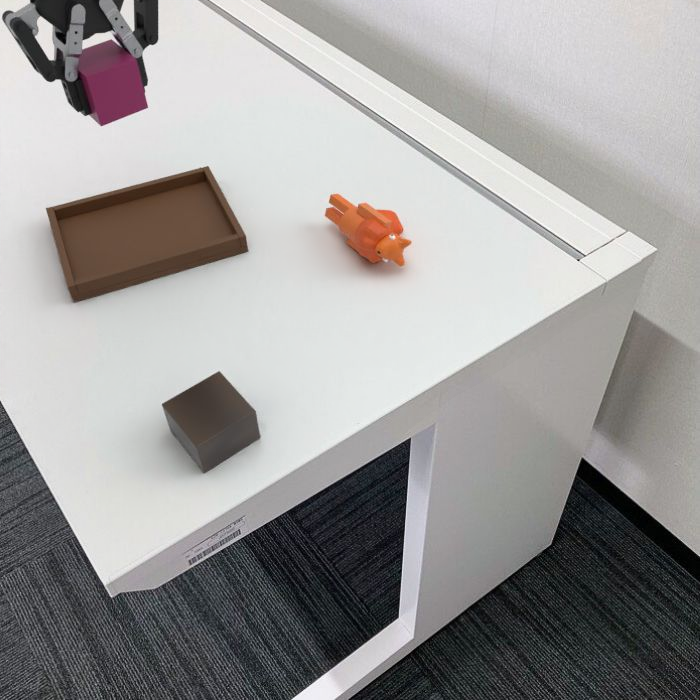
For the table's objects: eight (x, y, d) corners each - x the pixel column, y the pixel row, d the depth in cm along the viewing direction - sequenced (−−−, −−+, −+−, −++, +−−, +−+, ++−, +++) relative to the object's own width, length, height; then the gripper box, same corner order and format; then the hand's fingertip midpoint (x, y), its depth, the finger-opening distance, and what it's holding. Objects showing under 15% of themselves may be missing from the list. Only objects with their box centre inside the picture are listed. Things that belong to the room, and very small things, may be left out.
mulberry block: (101, 126, 72) (86, 77, 68) (78, 104, 74) (62, 56, 70) (148, 107, 74) (136, 58, 70) (124, 87, 76) (111, 38, 72)
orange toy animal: (317, 187, 84) (390, 240, 78) (366, 179, 89) (438, 229, 83) (308, 227, 87) (378, 281, 81) (356, 218, 92) (425, 269, 86)
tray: (73, 302, 81) (67, 287, 80) (51, 223, 90) (45, 208, 89) (248, 251, 86) (246, 235, 85) (211, 181, 95) (208, 165, 94)
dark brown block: (204, 473, 67) (196, 447, 64) (170, 430, 70) (161, 403, 67) (261, 437, 69) (256, 411, 66) (225, 397, 72) (219, 370, 69)
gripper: (116, -125, 66) (158, 62, 78) (-50, -83, 60) (25, 111, 73) (159, -102, 62) (195, 91, 74) (-14, -54, 56) (58, 146, 69)
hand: (111, 100), depth 73 cm, fingers closed on mulberry block, 5 cm apart
